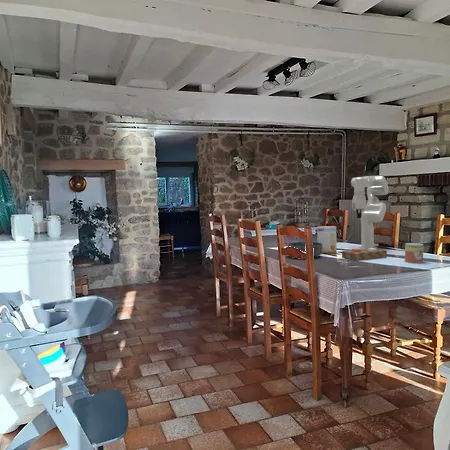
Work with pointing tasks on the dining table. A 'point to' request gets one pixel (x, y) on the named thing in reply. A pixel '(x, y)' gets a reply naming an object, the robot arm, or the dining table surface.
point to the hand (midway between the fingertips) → (359, 217)
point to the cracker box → (327, 238)
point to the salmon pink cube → (356, 250)
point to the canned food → (414, 253)
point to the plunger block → (364, 254)
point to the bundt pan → (301, 246)
